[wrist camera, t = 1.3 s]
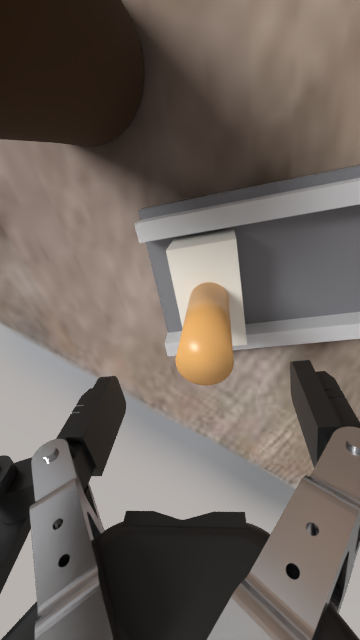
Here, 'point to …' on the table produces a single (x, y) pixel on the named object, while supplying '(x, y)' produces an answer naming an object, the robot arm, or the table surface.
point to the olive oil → (68, 71)
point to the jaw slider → (207, 304)
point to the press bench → (274, 255)
